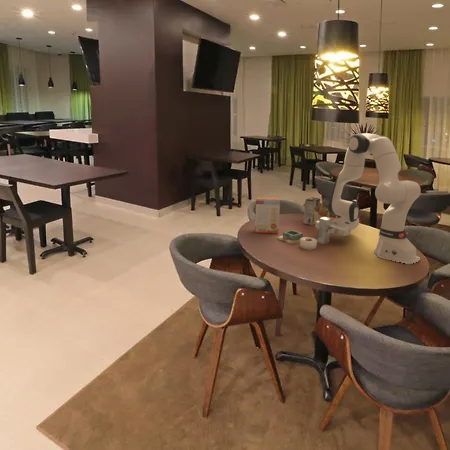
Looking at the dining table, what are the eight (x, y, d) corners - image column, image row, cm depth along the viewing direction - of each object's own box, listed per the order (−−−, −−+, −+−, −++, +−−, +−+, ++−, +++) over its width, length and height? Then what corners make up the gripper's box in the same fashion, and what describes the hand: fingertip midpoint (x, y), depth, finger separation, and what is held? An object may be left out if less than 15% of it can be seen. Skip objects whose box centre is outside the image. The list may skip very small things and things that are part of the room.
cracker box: (277, 231, 257) (280, 197, 251) (278, 234, 251) (280, 199, 245) (254, 229, 258) (256, 196, 252) (254, 232, 252) (256, 198, 246)
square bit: (328, 242, 239) (331, 218, 235) (323, 244, 236) (326, 220, 232) (322, 240, 242) (324, 217, 238) (317, 242, 239) (319, 218, 235)
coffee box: (309, 220, 282) (311, 196, 278) (318, 222, 279) (320, 198, 274) (303, 223, 275) (305, 199, 271) (312, 225, 272) (314, 200, 267)
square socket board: (307, 240, 241) (308, 233, 240) (293, 244, 233) (293, 237, 232) (291, 235, 250) (292, 228, 248) (277, 238, 242) (278, 231, 241)
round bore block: (319, 247, 230) (320, 240, 229) (309, 250, 225) (309, 243, 224) (306, 243, 237) (307, 236, 236) (296, 246, 231) (296, 238, 230)
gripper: (324, 216, 251) (309, 220, 243) (354, 224, 236) (339, 229, 228) (323, 226, 253) (308, 230, 245) (352, 235, 238) (337, 240, 230)
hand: (323, 229), depth 236 cm, fingers closed on square bit, 4 cm apart
